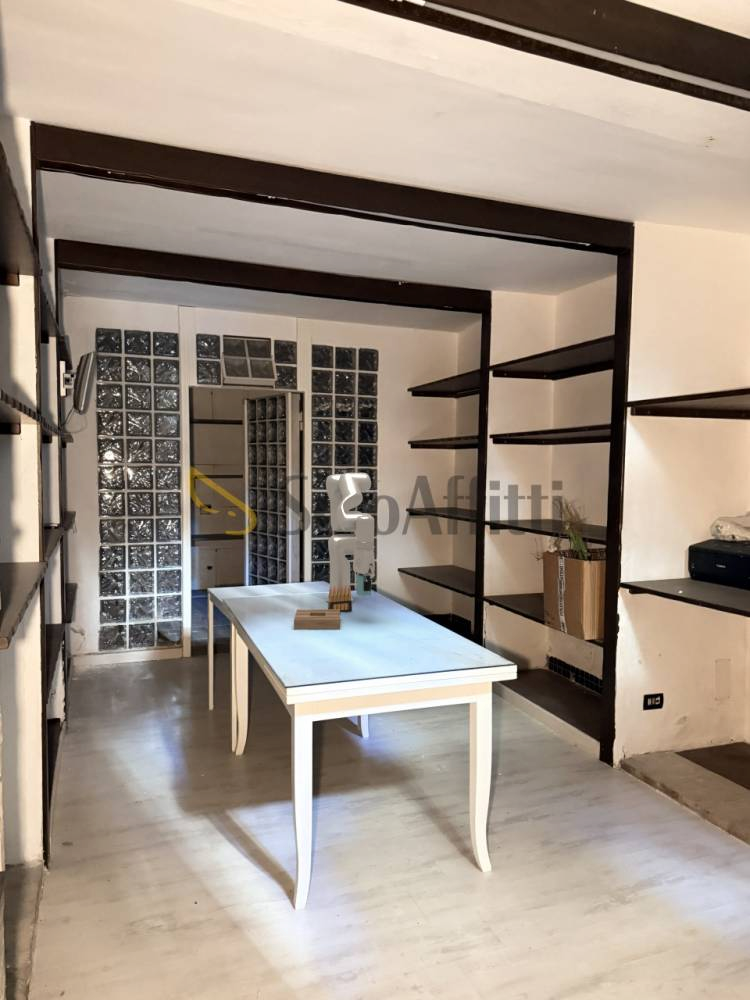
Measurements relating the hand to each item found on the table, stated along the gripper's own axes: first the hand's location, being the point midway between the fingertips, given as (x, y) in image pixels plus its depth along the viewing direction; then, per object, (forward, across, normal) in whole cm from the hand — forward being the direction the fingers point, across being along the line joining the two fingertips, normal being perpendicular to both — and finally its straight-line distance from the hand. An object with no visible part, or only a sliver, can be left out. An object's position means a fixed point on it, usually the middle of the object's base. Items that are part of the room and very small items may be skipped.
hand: (364, 589), depth 278 cm
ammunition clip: (+14, -19, 0) cm, 24 cm away
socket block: (+13, -5, -19) cm, 24 cm away
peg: (+2, 0, 0) cm, 2 cm away
